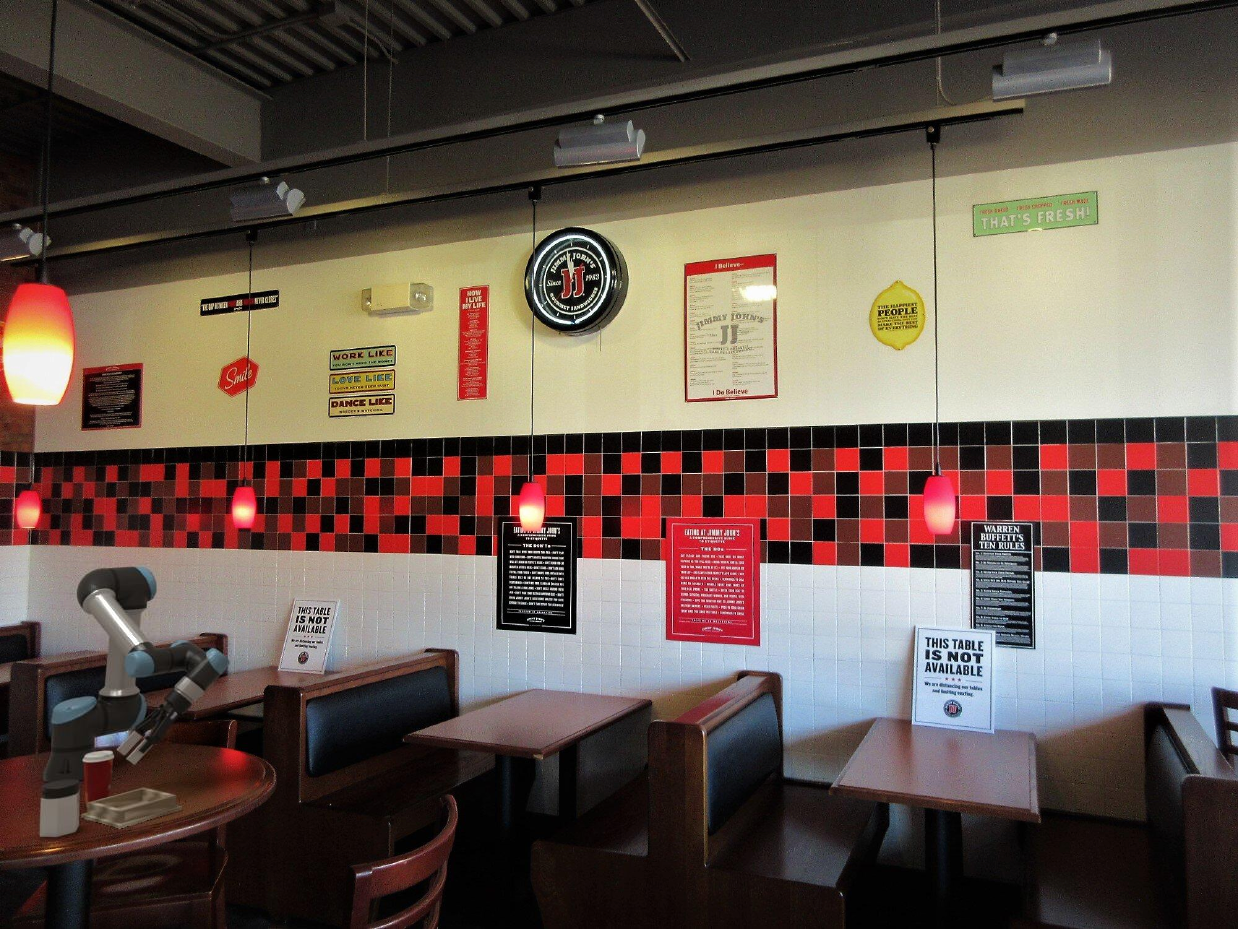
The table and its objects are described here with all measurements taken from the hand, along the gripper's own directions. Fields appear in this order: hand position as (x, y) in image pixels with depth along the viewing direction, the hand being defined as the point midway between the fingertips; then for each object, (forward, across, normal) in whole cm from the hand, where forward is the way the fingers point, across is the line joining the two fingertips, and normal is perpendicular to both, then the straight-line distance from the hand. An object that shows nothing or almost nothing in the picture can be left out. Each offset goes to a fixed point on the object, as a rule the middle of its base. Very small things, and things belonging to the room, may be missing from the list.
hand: (125, 757), depth 247 cm
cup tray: (+9, -15, -8) cm, 19 cm away
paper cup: (+13, +1, -4) cm, 14 cm away
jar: (+21, -18, +4) cm, 28 cm away
